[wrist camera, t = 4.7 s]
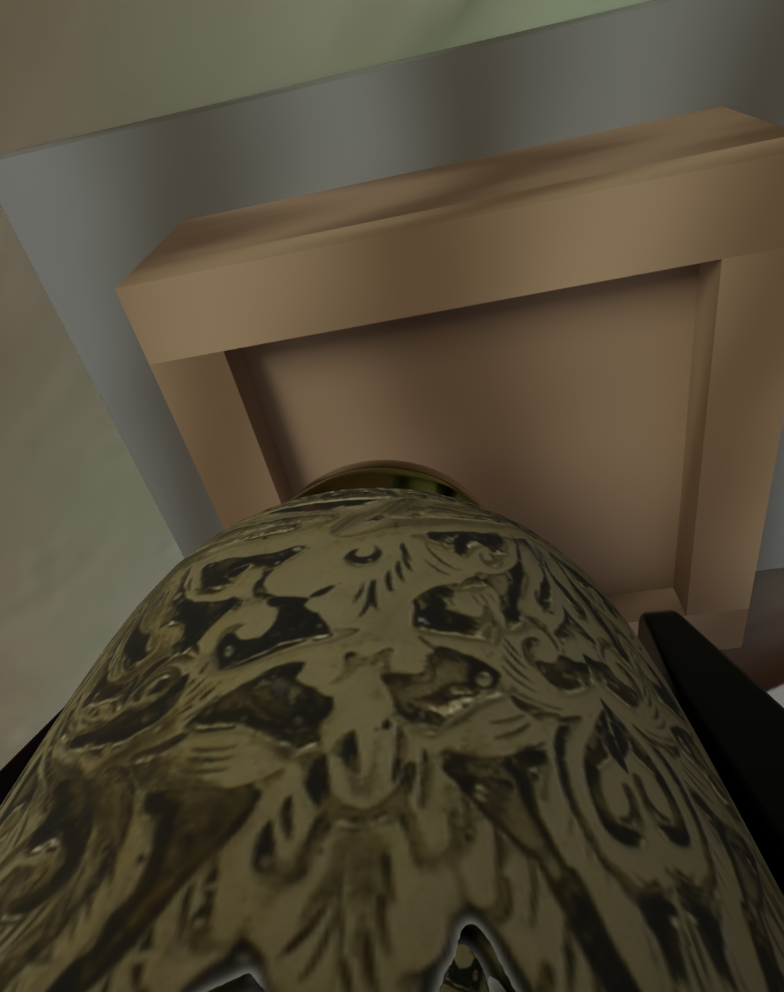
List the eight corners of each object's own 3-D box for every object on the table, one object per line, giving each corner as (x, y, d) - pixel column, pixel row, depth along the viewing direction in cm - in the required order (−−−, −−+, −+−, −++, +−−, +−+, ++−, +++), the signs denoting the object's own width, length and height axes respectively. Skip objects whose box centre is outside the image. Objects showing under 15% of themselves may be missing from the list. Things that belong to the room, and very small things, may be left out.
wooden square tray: (910, -61, 13) (1194, -94, 8) (785, 534, 23) (888, 678, 18) (11, 151, 16) (-159, 217, 11) (234, 606, 25) (194, 749, 21)
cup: (466, 716, 14) (516, 1337, 7) (111, 602, 12) (-232, 1307, 6) (724, 450, 10) (1336, 1330, 3) (246, 210, 8) (-483, 1187, 1)
